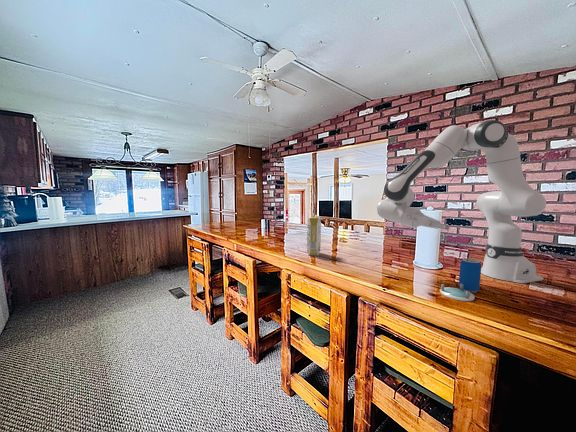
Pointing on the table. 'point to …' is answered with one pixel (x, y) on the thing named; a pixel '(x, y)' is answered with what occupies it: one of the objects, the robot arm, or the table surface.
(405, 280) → the table surface
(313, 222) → the juice carton
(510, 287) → the table surface
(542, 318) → the table surface
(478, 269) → the beverage can
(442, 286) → the pin cradle
